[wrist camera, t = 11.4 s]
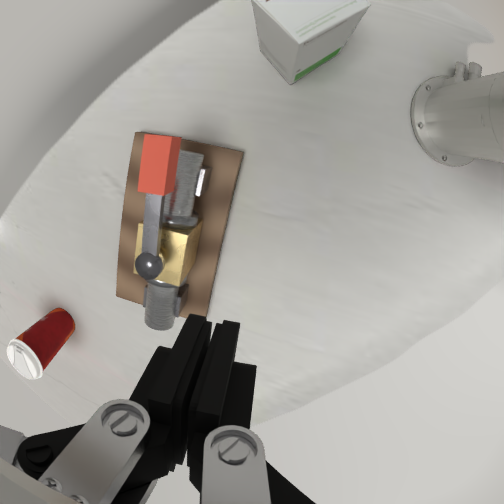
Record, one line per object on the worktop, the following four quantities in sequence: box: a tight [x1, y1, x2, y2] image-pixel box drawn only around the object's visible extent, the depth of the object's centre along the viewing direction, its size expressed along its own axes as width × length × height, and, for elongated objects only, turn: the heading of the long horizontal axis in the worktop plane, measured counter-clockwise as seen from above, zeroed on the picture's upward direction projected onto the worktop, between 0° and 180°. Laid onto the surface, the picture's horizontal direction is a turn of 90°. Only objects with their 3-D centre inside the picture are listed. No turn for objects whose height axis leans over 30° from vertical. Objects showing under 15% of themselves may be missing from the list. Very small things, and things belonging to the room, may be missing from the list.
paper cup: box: [7, 308, 75, 380], centre depth 43 cm, size 8×8×14 cm
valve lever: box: [135, 134, 182, 280], centre depth 28 cm, size 14×3×3 cm, turn 170°
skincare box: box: [251, 0, 371, 85], centre depth 25 cm, size 8×7×16 cm
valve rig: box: [116, 132, 243, 330], centre depth 36 cm, size 24×14×11 cm, turn 166°
